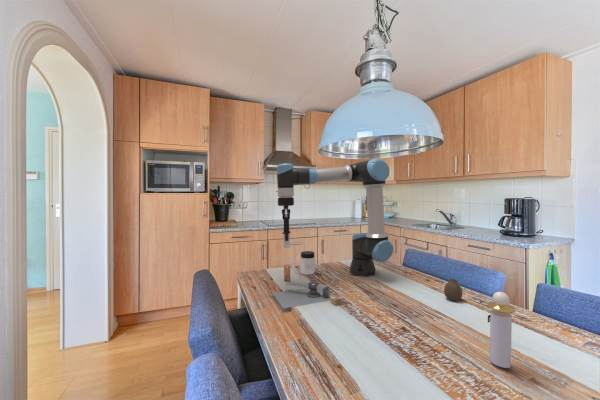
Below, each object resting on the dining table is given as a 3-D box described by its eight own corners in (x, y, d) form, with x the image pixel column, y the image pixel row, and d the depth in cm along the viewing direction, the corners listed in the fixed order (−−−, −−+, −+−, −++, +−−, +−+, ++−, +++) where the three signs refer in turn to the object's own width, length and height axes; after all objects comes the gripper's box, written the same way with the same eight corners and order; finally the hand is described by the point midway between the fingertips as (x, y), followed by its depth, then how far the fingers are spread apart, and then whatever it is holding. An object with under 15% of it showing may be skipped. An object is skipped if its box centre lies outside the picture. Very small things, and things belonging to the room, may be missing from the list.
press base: (322, 288, 128) (322, 279, 128) (339, 302, 112) (339, 292, 112) (272, 296, 119) (272, 286, 119) (283, 312, 103) (283, 300, 103)
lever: (330, 293, 116) (330, 269, 115) (327, 297, 112) (327, 272, 111) (286, 287, 124) (286, 264, 124) (282, 290, 120) (282, 266, 120)
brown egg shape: (466, 302, 110) (466, 282, 110) (449, 303, 110) (449, 282, 110) (456, 296, 117) (456, 277, 117) (440, 296, 117) (441, 277, 117)
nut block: (337, 294, 110) (342, 298, 107) (337, 304, 111) (343, 307, 107) (329, 296, 109) (334, 299, 105) (329, 305, 109) (334, 309, 105)
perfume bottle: (519, 372, 68) (520, 296, 67) (497, 372, 68) (497, 296, 67) (503, 358, 73) (504, 288, 73) (482, 358, 74) (483, 288, 73)
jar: (301, 275, 150) (301, 254, 150) (299, 271, 158) (299, 251, 158) (316, 274, 151) (316, 253, 151) (313, 270, 159) (313, 250, 159)
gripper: (278, 197, 128) (279, 244, 129) (277, 197, 115) (278, 250, 116) (293, 196, 128) (294, 244, 129) (294, 197, 115) (295, 250, 116)
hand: (286, 247), depth 122 cm, fingers closed
